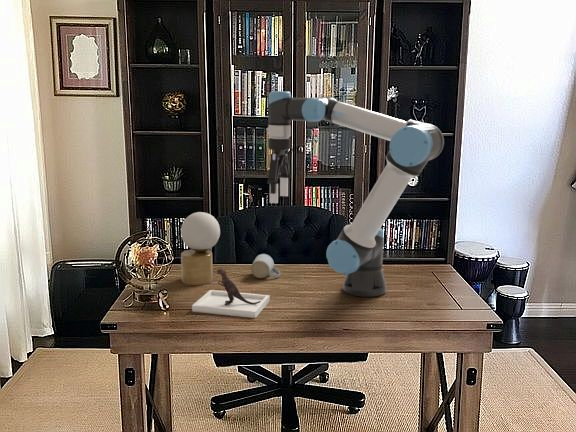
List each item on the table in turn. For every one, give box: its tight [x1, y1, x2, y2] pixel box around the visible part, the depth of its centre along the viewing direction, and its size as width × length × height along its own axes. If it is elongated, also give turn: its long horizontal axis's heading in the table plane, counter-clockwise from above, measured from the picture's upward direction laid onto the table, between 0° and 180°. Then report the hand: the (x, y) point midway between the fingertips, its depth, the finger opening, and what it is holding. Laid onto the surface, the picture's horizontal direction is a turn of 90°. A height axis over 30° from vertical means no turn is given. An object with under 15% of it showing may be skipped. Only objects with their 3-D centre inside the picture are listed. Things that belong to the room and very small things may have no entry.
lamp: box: [180, 211, 221, 286], centre depth 232 cm, size 15×14×25 cm
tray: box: [191, 289, 271, 319], centre depth 207 cm, size 21×16×2 cm
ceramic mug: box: [250, 253, 281, 279], centre depth 238 cm, size 11×8×8 cm
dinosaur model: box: [216, 267, 261, 305], centre depth 206 cm, size 4×12×15 cm
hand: (279, 199), depth 220 cm, fingers open, 13 cm apart
